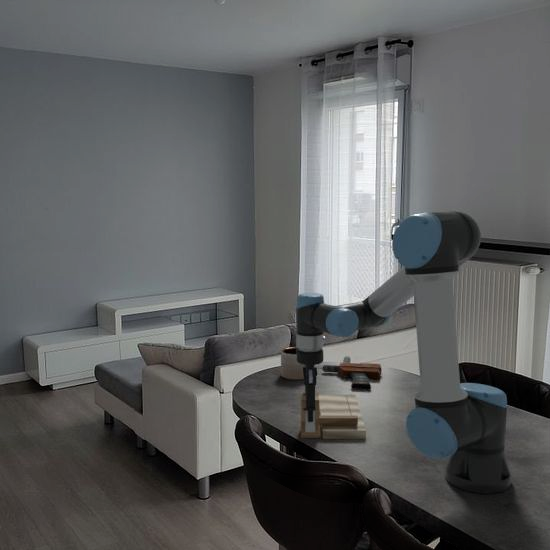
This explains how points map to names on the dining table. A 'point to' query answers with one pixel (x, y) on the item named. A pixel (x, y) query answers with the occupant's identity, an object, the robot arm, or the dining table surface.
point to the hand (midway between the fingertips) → (309, 427)
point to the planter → (291, 364)
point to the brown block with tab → (322, 419)
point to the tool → (356, 372)
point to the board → (341, 407)
